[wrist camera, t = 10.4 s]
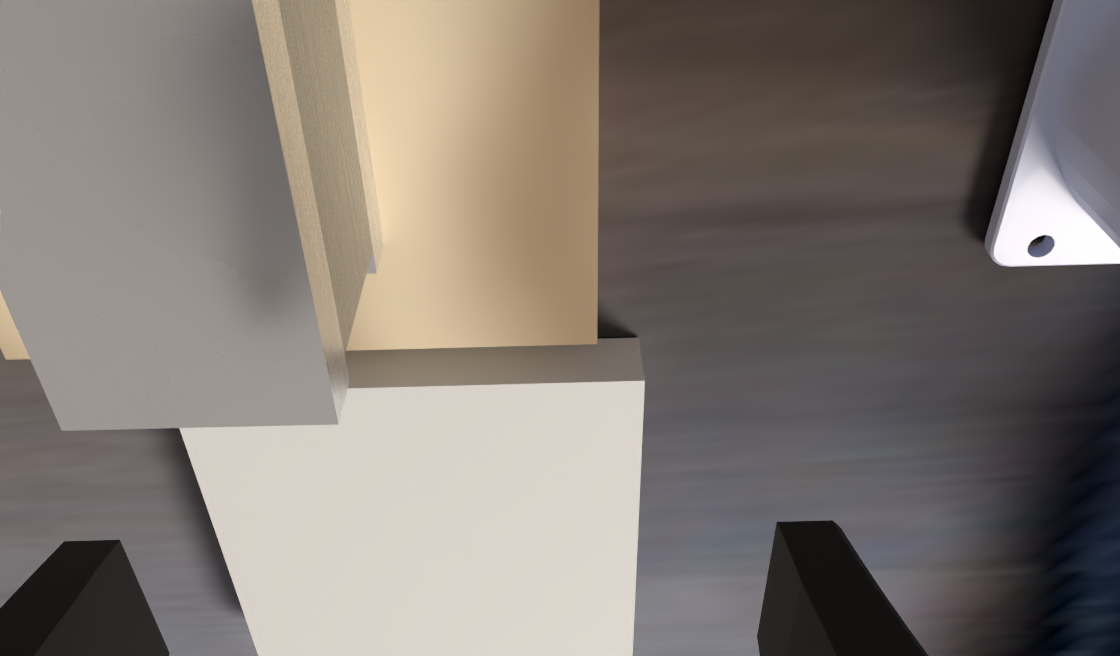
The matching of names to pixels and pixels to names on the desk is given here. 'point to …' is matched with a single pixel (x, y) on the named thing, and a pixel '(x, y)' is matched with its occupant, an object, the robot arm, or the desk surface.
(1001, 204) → the robot arm
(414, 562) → the stand
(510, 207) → the stand
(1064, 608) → the desk surface
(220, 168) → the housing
